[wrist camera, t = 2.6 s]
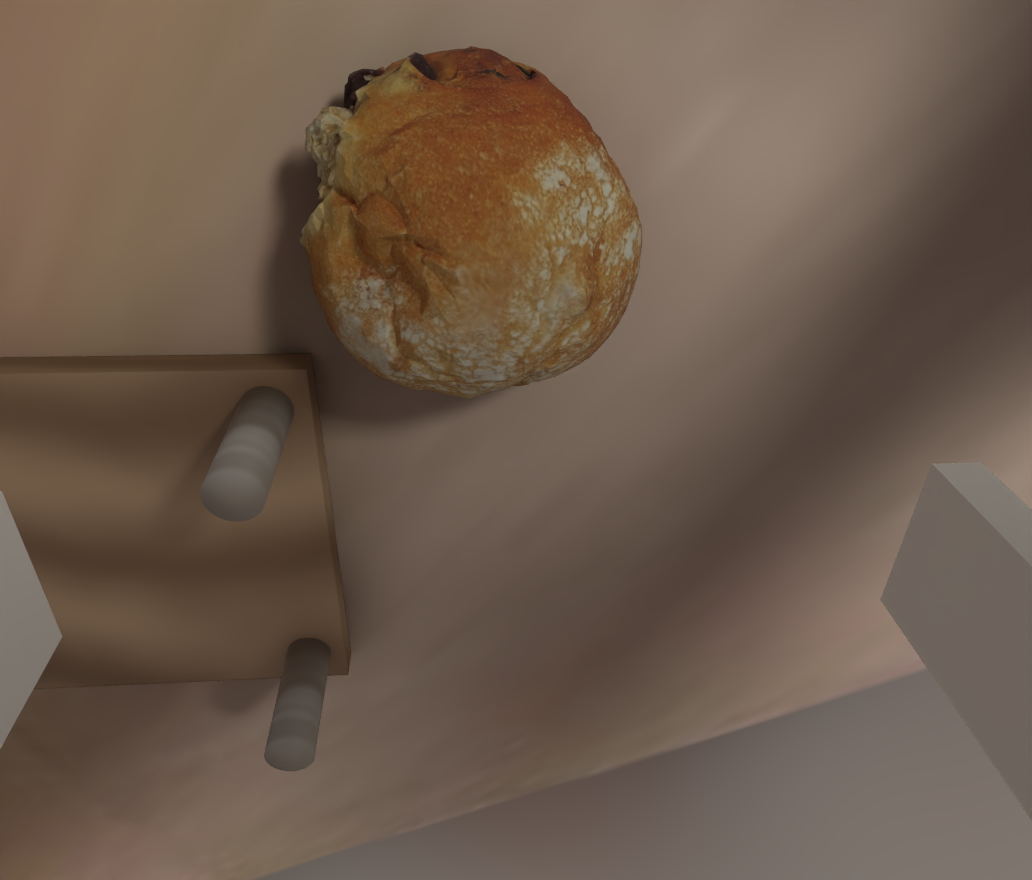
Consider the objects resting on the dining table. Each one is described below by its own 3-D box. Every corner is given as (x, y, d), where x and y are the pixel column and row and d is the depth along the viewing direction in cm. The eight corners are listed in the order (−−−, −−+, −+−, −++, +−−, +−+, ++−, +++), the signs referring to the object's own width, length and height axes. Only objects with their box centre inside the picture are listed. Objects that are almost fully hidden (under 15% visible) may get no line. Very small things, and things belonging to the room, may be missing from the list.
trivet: (-151, 359, 25) (-305, 465, 20) (311, 353, 26) (279, 452, 21) (2, 668, 33) (-80, 801, 28) (351, 653, 34) (334, 778, 29)
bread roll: (382, 318, 30) (416, 491, 26) (215, 102, 21) (223, 308, 17) (620, 216, 28) (697, 381, 24) (542, -59, 20) (640, 121, 16)
